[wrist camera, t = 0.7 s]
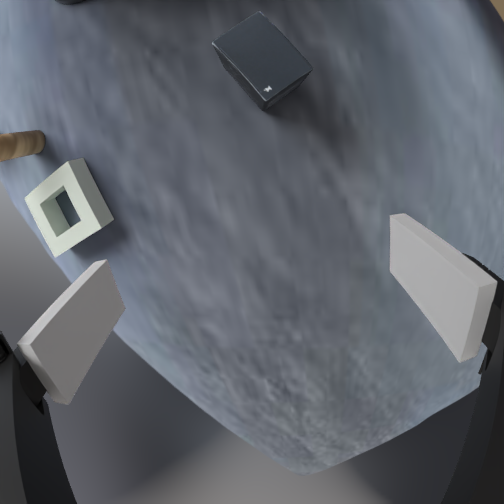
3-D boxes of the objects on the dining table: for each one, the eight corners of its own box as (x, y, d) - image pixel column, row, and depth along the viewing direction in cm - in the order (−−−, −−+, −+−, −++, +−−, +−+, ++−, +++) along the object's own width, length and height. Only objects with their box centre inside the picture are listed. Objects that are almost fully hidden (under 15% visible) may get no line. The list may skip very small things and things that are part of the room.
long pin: (26, 139, 35) (-39, 150, 22) (40, 125, 34) (-27, 132, 21) (33, 158, 36) (-31, 175, 23) (48, 145, 35) (-19, 158, 22)
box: (299, 86, 33) (315, 69, 23) (262, 112, 34) (265, 103, 24) (258, 40, 31) (259, 8, 21) (222, 66, 32) (209, 42, 22)
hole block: (40, 192, 38) (24, 198, 34) (83, 157, 36) (67, 161, 32) (68, 247, 41) (55, 257, 37) (114, 219, 39) (101, 228, 36)
